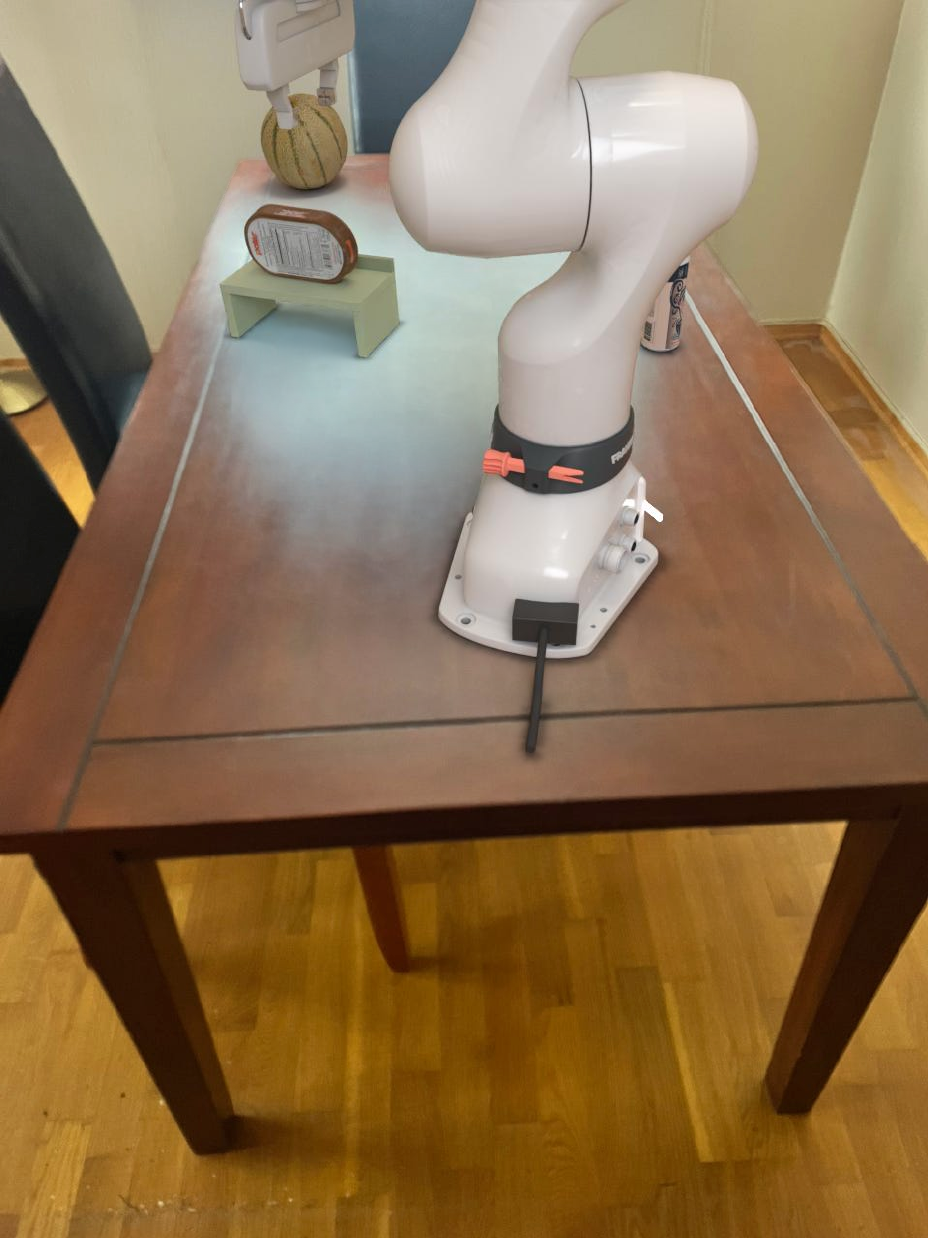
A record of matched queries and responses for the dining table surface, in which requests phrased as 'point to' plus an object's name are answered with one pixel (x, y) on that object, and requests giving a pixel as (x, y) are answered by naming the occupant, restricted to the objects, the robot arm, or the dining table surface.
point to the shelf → (318, 298)
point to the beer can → (667, 313)
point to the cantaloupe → (305, 144)
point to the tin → (301, 243)
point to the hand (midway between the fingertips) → (309, 115)
